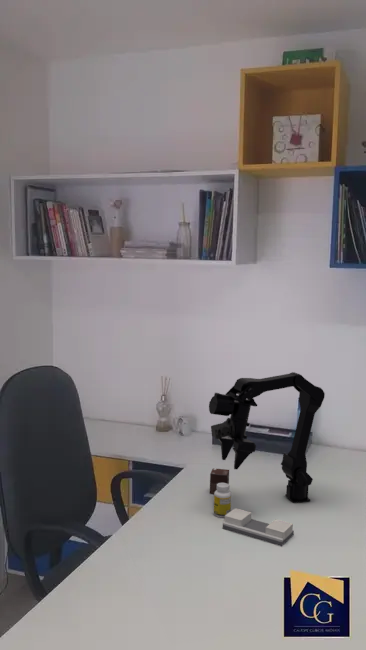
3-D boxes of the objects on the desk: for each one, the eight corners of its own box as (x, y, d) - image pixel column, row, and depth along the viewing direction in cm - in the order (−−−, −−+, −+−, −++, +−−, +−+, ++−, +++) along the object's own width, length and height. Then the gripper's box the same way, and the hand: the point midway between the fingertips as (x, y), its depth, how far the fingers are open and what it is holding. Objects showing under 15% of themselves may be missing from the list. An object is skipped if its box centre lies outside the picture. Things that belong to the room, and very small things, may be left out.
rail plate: (222, 528, 182) (223, 516, 182) (236, 518, 190) (236, 507, 190) (281, 546, 172) (282, 533, 172) (293, 534, 180) (294, 522, 180)
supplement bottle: (212, 511, 195) (213, 481, 194) (229, 511, 195) (230, 481, 194) (214, 518, 190) (215, 487, 189) (231, 518, 190) (233, 487, 189)
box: (226, 496, 208) (227, 475, 207) (209, 494, 209) (210, 473, 208) (228, 489, 214) (229, 469, 213) (211, 487, 215) (212, 467, 214)
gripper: (205, 407, 202) (196, 453, 202) (229, 422, 184) (218, 472, 185) (235, 411, 206) (225, 456, 206) (261, 426, 188) (250, 475, 189)
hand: (229, 464), depth 197 cm, fingers open, 9 cm apart
